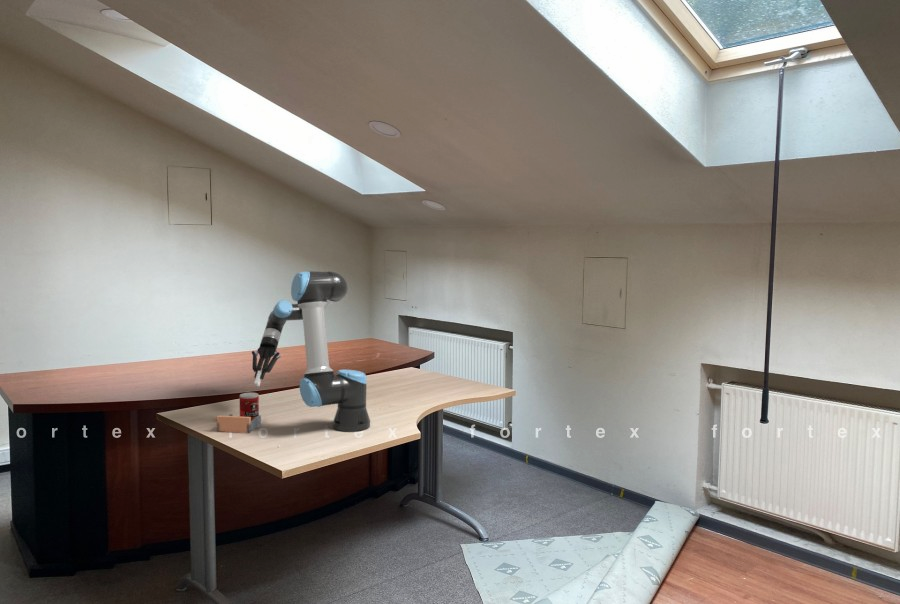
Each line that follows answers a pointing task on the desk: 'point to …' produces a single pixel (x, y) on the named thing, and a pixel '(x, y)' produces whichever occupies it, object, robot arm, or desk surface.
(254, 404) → the canned food
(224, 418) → the bracket
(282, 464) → the desk surface
